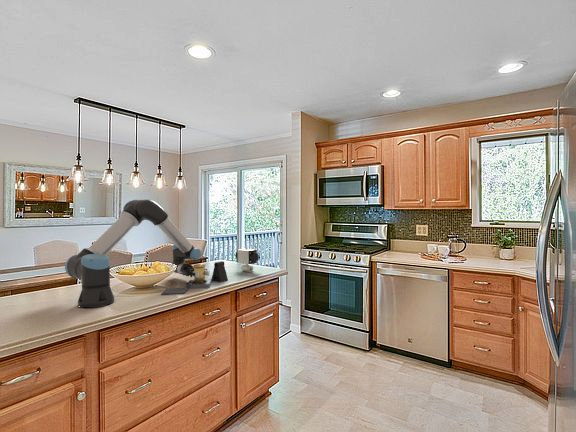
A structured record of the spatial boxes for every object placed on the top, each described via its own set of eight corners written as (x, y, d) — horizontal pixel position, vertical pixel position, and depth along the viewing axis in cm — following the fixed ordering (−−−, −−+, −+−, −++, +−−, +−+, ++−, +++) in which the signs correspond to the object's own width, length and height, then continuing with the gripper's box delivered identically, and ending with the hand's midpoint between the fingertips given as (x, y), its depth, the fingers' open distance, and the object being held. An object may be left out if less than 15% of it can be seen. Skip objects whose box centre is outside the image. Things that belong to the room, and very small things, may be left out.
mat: (184, 294, 169) (184, 292, 169) (161, 295, 168) (161, 293, 168) (188, 288, 181) (188, 287, 181) (166, 289, 180) (166, 288, 180)
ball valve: (260, 272, 228) (260, 247, 228) (251, 273, 222) (251, 248, 222) (243, 269, 240) (243, 245, 240) (235, 270, 234) (234, 246, 233)
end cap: (204, 286, 186) (204, 265, 186) (192, 286, 185) (192, 266, 185) (206, 283, 193) (205, 263, 193) (194, 283, 192) (194, 264, 192)
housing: (209, 287, 183) (209, 284, 183) (185, 288, 182) (185, 285, 182) (211, 282, 197) (211, 278, 197) (190, 282, 196) (190, 279, 195)
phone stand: (228, 280, 202) (227, 261, 202) (221, 282, 197) (220, 263, 197) (218, 278, 207) (217, 260, 207) (211, 280, 202) (210, 261, 202)
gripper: (199, 273, 209) (218, 278, 192) (171, 277, 196) (188, 283, 179) (199, 261, 209) (217, 266, 192) (171, 265, 195) (188, 270, 179)
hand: (203, 274), depth 185 cm, fingers closed on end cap, 6 cm apart
